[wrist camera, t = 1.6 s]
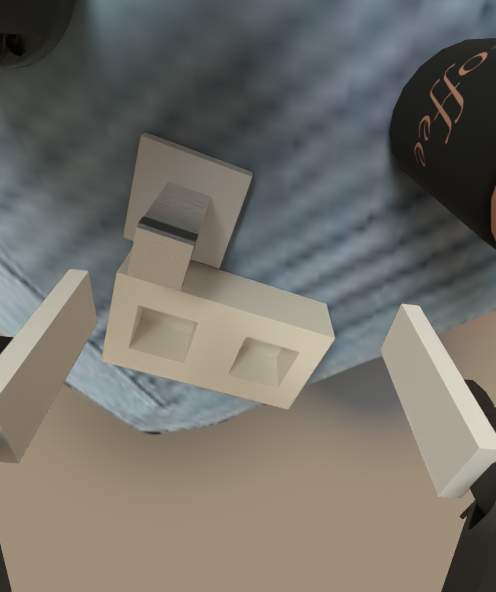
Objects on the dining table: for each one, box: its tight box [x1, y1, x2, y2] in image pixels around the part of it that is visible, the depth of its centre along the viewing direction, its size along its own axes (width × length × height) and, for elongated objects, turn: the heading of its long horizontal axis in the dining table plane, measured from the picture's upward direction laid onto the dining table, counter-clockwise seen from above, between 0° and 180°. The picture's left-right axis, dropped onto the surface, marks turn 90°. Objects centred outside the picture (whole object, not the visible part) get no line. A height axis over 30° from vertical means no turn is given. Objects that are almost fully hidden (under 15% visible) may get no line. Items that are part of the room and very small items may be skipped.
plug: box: [127, 182, 210, 291], centre depth 30 cm, size 4×4×10 cm
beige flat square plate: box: [123, 132, 253, 268], centre depth 35 cm, size 10×10×2 cm
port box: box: [101, 249, 335, 410], centre depth 40 cm, size 22×12×6 cm, turn 70°
